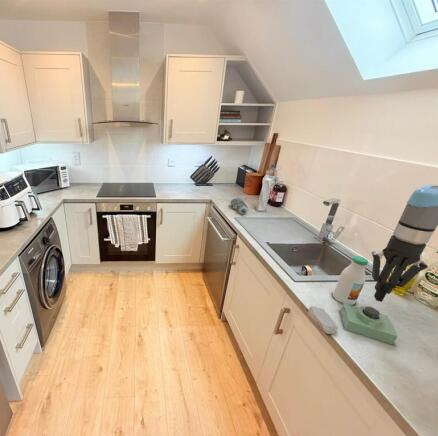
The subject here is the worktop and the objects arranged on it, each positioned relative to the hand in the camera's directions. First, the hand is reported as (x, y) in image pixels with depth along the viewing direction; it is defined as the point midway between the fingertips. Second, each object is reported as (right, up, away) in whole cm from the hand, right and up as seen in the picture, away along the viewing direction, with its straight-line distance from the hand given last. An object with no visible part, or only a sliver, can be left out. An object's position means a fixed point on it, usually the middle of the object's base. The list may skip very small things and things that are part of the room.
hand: (377, 298), depth 81 cm
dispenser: (0, -12, +5) cm, 13 cm away
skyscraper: (+14, +35, +112) cm, 118 cm away
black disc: (0, -7, +3) cm, 7 cm away
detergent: (-4, +34, +111) cm, 116 cm away
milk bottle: (+3, -6, +18) cm, 20 cm away
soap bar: (-15, -11, +7) cm, 20 cm away
